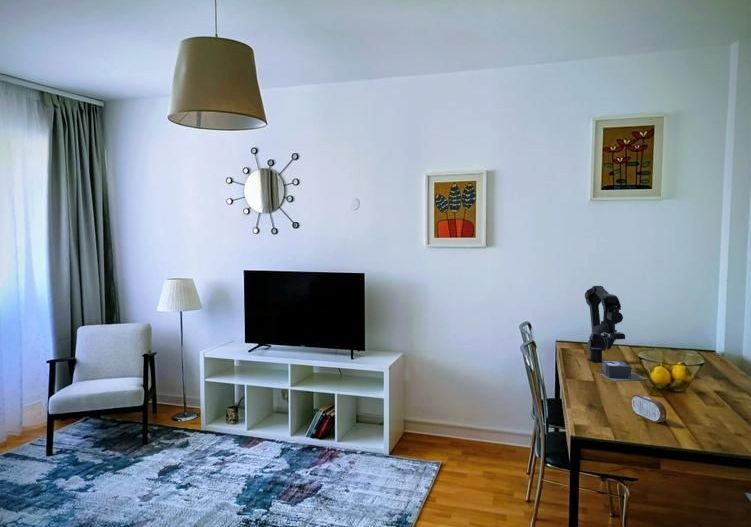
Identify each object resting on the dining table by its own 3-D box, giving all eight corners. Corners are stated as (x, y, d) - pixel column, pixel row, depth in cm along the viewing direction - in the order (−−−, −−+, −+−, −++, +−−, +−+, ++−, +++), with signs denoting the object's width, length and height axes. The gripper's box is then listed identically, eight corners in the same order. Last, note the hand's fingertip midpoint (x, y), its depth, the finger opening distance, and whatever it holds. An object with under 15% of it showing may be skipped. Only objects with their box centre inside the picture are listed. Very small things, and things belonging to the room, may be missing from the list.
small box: (623, 360, 256) (631, 366, 246) (623, 372, 257) (631, 379, 246) (601, 359, 257) (609, 365, 247) (601, 372, 258) (608, 378, 247)
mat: (598, 374, 255) (599, 373, 255) (630, 372, 258) (630, 372, 258) (614, 381, 243) (614, 380, 243) (647, 379, 246) (647, 378, 246)
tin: (666, 425, 188) (667, 402, 187) (660, 426, 187) (660, 403, 186) (635, 411, 202) (636, 390, 202) (628, 412, 201) (629, 391, 201)
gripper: (584, 317, 270) (583, 345, 271) (606, 323, 252) (605, 354, 253) (603, 316, 272) (602, 345, 273) (626, 322, 254) (625, 353, 255)
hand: (608, 349), depth 264 cm, fingers closed
